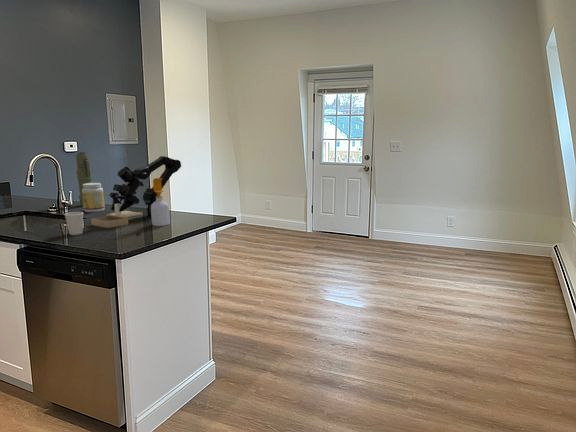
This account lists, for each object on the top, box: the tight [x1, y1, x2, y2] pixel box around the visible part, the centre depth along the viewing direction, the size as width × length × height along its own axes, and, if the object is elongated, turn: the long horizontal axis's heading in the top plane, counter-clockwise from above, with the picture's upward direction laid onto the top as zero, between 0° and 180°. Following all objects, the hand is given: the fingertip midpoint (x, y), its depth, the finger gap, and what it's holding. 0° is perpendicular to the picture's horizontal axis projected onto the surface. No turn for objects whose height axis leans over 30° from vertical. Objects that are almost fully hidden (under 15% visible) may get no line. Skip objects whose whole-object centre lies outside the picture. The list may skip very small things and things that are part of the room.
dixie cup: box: [64, 211, 84, 236], centre depth 210 cm, size 8×8×10 cm
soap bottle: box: [150, 177, 171, 227], centre depth 227 cm, size 9×9×25 cm
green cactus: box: [75, 151, 93, 207], centre depth 288 cm, size 9×12×35 cm
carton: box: [90, 215, 129, 229], centre depth 230 cm, size 12×14×4 cm
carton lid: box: [105, 203, 144, 218], centre depth 236 cm, size 12×14×7 cm
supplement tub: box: [82, 182, 106, 213], centre depth 270 cm, size 12×12×17 cm
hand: (115, 210), depth 232 cm, fingers open, 6 cm apart
